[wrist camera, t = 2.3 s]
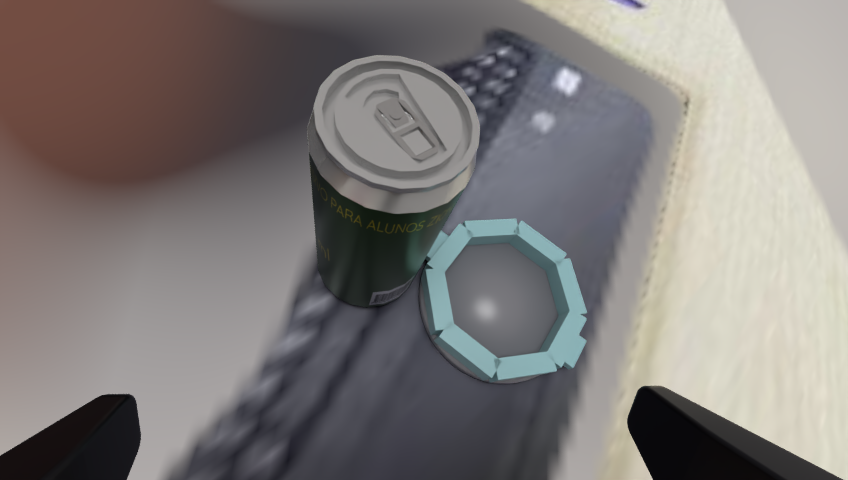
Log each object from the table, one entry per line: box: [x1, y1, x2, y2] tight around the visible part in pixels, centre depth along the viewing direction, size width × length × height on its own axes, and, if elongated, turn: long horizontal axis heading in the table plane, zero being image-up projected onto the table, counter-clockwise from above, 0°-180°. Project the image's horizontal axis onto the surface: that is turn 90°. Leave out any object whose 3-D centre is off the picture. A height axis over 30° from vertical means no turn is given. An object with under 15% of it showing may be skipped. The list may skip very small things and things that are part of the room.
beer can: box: [307, 55, 480, 307], centre depth 17 cm, size 5×5×12 cm
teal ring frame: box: [419, 219, 587, 384], centre depth 22 cm, size 9×10×2 cm
